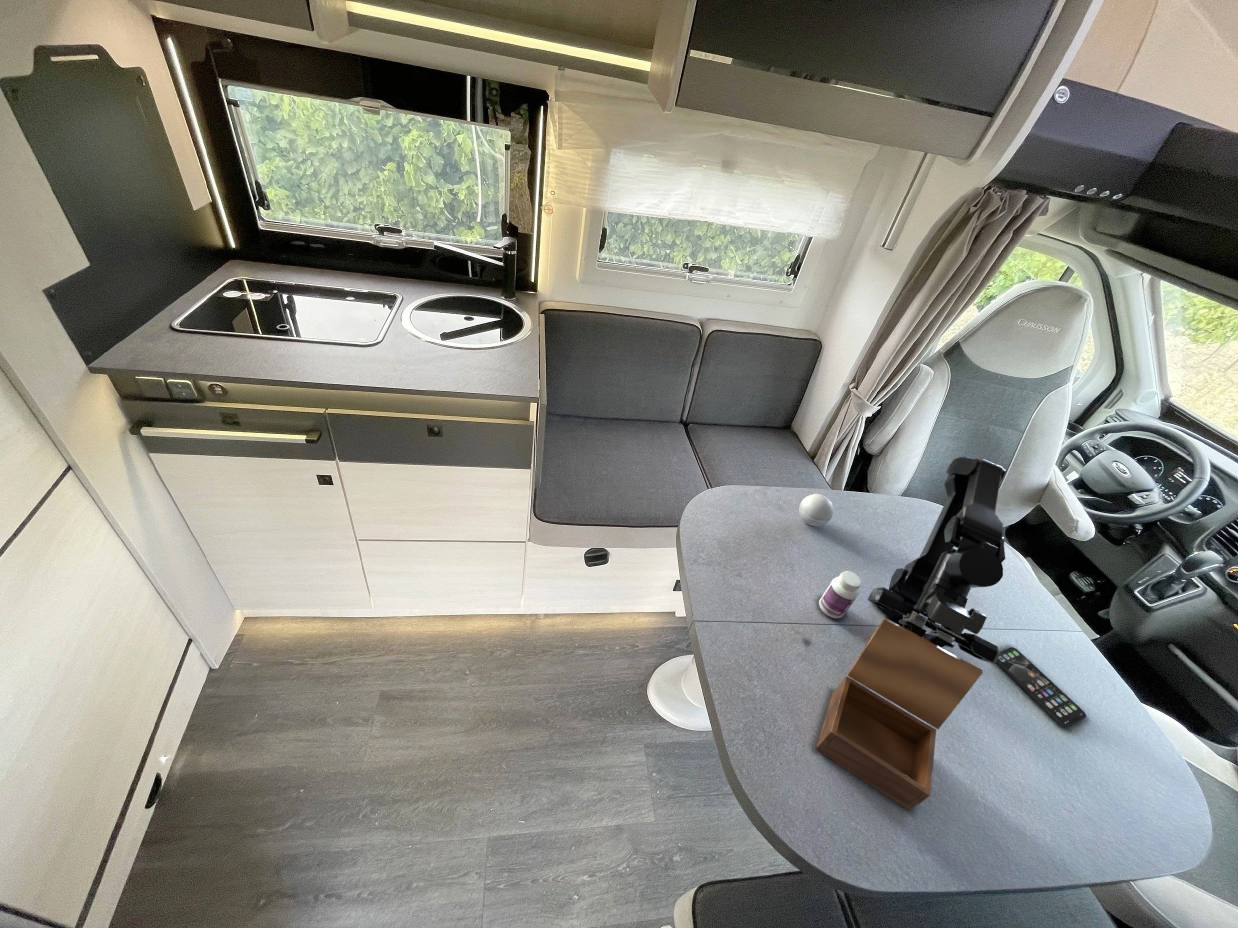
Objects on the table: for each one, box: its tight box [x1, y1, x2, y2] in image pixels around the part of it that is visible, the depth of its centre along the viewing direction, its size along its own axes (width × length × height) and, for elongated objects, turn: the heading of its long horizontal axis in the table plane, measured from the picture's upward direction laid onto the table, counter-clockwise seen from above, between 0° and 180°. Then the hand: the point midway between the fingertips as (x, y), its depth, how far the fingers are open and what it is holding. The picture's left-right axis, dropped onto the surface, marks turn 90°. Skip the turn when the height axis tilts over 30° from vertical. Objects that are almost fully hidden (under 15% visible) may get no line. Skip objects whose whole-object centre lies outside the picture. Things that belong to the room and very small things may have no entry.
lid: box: [847, 617, 984, 730], centre depth 80 cm, size 12×15×1 cm
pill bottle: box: [818, 570, 862, 619], centre depth 101 cm, size 5×5×10 cm
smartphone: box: [996, 646, 1087, 728], centre depth 96 cm, size 7×1×15 cm
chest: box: [815, 675, 937, 811], centre depth 80 cm, size 12×15×6 cm
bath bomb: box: [798, 493, 835, 527], centre depth 123 cm, size 8×8×8 cm
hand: (907, 669), depth 82 cm, fingers closed
